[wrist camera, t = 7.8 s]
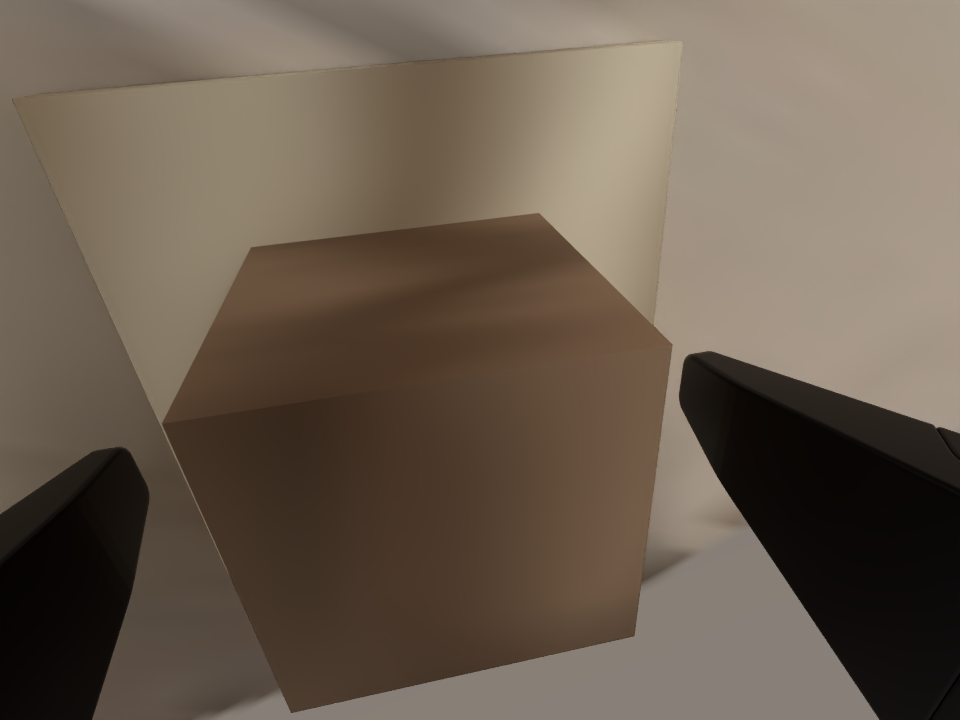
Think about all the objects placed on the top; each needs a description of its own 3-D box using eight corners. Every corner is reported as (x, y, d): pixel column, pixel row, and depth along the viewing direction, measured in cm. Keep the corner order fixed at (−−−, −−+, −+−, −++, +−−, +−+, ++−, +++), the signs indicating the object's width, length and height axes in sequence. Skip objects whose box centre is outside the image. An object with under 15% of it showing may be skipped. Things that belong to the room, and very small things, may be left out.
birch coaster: (660, 40, 10) (683, 41, 9) (623, 472, 15) (636, 493, 14) (39, 93, 8) (11, 98, 8) (233, 545, 14) (227, 572, 13)
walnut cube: (539, 212, 10) (673, 344, 6) (541, 433, 13) (634, 636, 8) (251, 247, 9) (161, 423, 5) (315, 471, 12) (290, 713, 8)
